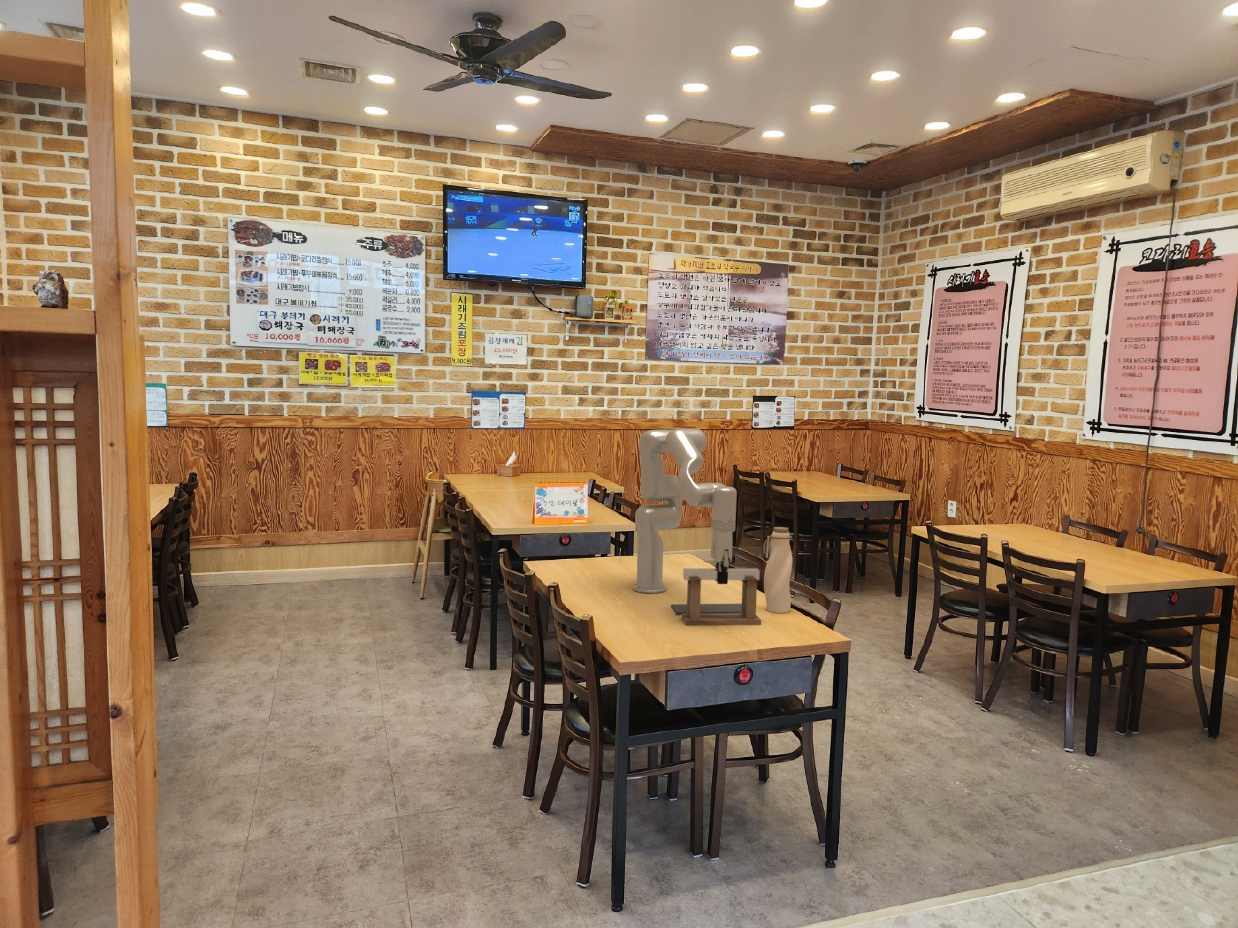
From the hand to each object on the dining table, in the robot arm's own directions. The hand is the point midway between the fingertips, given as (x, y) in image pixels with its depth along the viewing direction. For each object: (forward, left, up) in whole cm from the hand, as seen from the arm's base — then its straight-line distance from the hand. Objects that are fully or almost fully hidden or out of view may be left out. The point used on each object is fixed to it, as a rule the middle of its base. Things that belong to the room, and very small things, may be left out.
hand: (721, 581), depth 252 cm
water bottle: (-12, +22, -13) cm, 28 cm away
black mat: (-13, 0, -13) cm, 18 cm away
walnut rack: (0, 0, -13) cm, 13 cm away
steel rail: (0, 0, +1) cm, 1 cm away
